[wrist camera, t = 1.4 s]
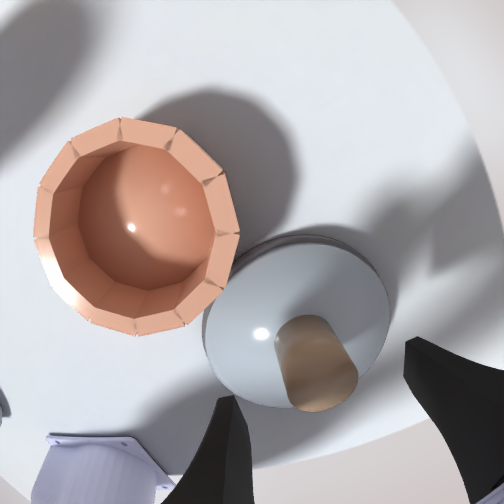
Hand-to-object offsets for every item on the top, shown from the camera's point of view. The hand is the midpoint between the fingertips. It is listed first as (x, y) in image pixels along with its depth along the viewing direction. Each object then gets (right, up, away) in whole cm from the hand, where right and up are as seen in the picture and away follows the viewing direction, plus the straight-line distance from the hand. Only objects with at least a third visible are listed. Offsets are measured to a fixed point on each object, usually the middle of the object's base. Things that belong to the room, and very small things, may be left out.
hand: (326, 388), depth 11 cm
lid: (0, +1, +4) cm, 5 cm away
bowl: (-8, +7, +2) cm, 11 cm away
